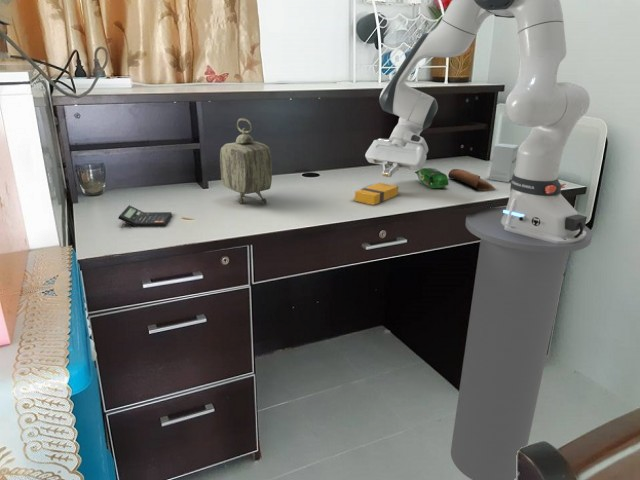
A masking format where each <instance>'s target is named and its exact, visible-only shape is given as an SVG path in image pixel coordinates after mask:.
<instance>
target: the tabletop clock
mask: <svg viewBox="0 0 640 480" xmlns="http://www.w3.org/2000/svg"><path fill="white" fill-rule="evenodd" d="M241 121H242V122H243V121H244V122H247V123H248V125H249V128H250V129H249V130H247V128H246V127H243V128H242V129H241V128H240V126H239V124H240V122H241ZM236 128H237V130H238V131H239V132H240V133H241V134H239V135H238V136H237V137H236V139H235V142H229V143H225V144H224V145H223V146H222V147H221V148H220V150H219V169H220V179H221V184H222V185H223V186H224V187H225V188H226V189H229V190H232V191H234V192H237V193H238V194H239V196H240V197H239V198H238V199H237V201H238V203H240V204H243V203H244V201H245V200H244V198H243V197H245V195H250V194H254V193H255V194H257V195H258V196H259V198H260V199H261V203H262V204H266V203H267V198H265V197H263V195H262V193H261V192H263V191H268V190H270V189H271V187H272V181H273V161H272V154H271V150H270V147H269V146H268V145H266V144H264V143H262V142H259V141H254V138H253V137H252V135H250V133H251V132H252V130H253V125H252V122H251V121H250V120H249V119H247V118H245V117H240V118H238V119H237V121H236Z"/></svg>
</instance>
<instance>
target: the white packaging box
mask: <svg viewBox="0 0 640 480" xmlns="http://www.w3.org/2000/svg"><path fill="white" fill-rule="evenodd" d="M519 146H520V145H519V144H511V143H497V144H495V145H494V146H493V150H492V156H491V164H490V169H489V177H488V180H491V181H497V182H504V183H510V182H511V180H512V175H513V174H514V172H515V166H516V160H517V153H518V149H519Z"/></svg>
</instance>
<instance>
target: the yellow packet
mask: <svg viewBox="0 0 640 480" xmlns="http://www.w3.org/2000/svg"><path fill="white" fill-rule="evenodd" d="M398 192H399V186H398V185H395V184H388V183H383V182H378V183H375V184H372V185H370V186H366V187H363V188H361V189H358V190H355V192H354V202H358V203H362V204H368V205H371V206H375V205H378V204H381V203H383V202H384V201H387V200H389V199H392V198H394V197H396V196H398Z"/></svg>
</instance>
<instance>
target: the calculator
mask: <svg viewBox="0 0 640 480" xmlns="http://www.w3.org/2000/svg"><path fill="white" fill-rule="evenodd" d="M172 214H173V213H172V211H161V212H160V211H157V212H155V211H153V212H152V211H151V212H150V211H146V212H145V211H143V210H140V209H138V208H136V207H134V206H132V205H128V206H126V208H125V209H124V210H123V211H122V212H121V213H120V214H119V216H118V217H117V219H118V220H120V221H122V222H125V223H126V224H129V225H131V226H132V227H136V228H137V227H165V226H166V225H167V224H168V222H169V220H170V219H171V217H172Z"/></svg>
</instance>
